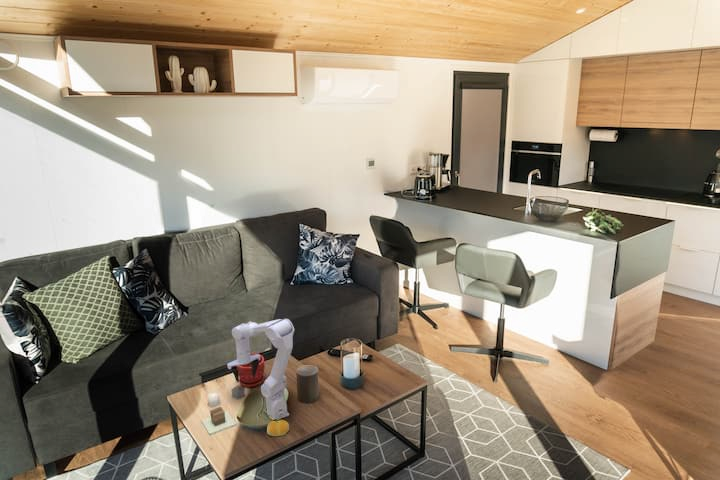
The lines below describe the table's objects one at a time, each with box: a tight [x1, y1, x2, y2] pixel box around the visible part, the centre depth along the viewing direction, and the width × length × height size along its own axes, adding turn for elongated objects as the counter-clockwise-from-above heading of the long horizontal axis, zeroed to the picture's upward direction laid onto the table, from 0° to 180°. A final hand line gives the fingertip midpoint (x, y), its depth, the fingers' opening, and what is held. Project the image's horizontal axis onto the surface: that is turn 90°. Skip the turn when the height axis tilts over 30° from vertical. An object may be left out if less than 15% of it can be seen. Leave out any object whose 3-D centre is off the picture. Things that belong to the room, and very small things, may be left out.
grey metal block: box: [231, 385, 246, 400], centre depth 223 cm, size 4×4×4 cm
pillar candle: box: [295, 364, 320, 404], centre depth 220 cm, size 10×10×15 cm
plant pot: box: [236, 353, 266, 388], centre depth 234 cm, size 13×13×12 cm
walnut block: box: [209, 406, 226, 426], centre depth 204 cm, size 4×4×5 cm
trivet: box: [201, 410, 237, 436], centre depth 205 cm, size 11×11×1 cm
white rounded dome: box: [206, 390, 221, 408], centre depth 218 cm, size 5×5×5 cm
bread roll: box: [266, 419, 290, 437], centre depth 199 cm, size 8×9×4 cm
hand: (245, 378), depth 219 cm, fingers open, 7 cm apart
